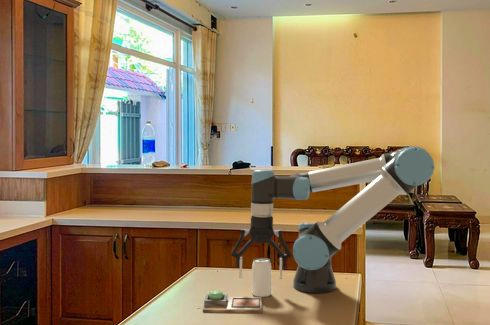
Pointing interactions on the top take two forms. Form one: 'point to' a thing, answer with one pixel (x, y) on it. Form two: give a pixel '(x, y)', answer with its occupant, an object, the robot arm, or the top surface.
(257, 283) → the can
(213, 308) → the tan rectangular board
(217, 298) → the button
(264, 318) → the top surface
